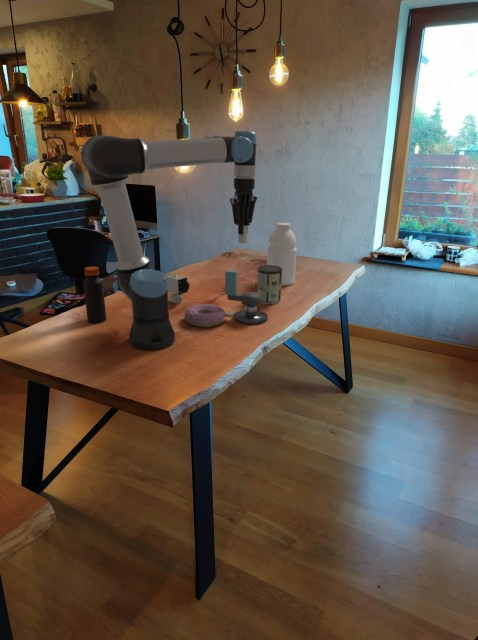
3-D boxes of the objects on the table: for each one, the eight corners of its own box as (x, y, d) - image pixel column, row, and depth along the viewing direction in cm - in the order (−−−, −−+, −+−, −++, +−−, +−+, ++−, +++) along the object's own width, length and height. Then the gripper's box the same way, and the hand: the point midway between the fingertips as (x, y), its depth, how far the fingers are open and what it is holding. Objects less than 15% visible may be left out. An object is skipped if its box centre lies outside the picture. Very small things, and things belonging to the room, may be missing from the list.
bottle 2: (265, 277, 226) (268, 220, 216) (293, 278, 226) (297, 221, 216) (266, 285, 213) (268, 225, 203) (295, 286, 213) (300, 226, 203)
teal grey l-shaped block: (262, 301, 174) (263, 271, 170) (257, 306, 168) (258, 276, 163) (229, 296, 178) (229, 268, 173) (223, 302, 172) (223, 273, 167)
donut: (184, 314, 177) (184, 302, 175) (223, 313, 179) (223, 301, 177) (185, 330, 163) (184, 317, 161) (227, 328, 165) (227, 316, 163)
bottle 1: (86, 324, 166) (80, 271, 158) (88, 317, 172) (82, 266, 165) (105, 323, 167) (100, 270, 160) (107, 316, 173) (102, 265, 166)
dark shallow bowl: (260, 326, 166) (261, 311, 164) (219, 319, 172) (219, 304, 170) (272, 315, 177) (272, 300, 175) (233, 308, 183) (233, 294, 181)
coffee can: (266, 294, 201) (268, 263, 196) (285, 300, 194) (287, 268, 189) (251, 300, 194) (252, 268, 189) (270, 306, 187) (271, 273, 182)
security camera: (182, 306, 185) (181, 278, 180) (162, 300, 191) (160, 272, 187) (191, 303, 189) (191, 275, 185) (171, 297, 196) (170, 270, 191)
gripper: (248, 176, 170) (246, 239, 178) (224, 177, 161) (223, 243, 169) (263, 177, 165) (260, 241, 174) (240, 179, 156) (238, 246, 165)
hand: (242, 242), depth 172 cm, fingers closed
